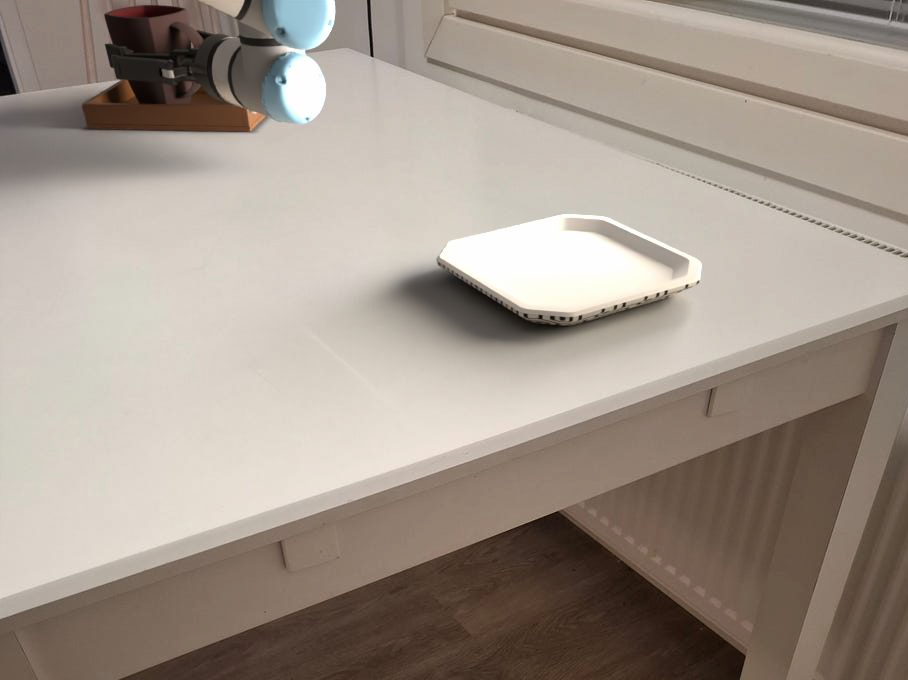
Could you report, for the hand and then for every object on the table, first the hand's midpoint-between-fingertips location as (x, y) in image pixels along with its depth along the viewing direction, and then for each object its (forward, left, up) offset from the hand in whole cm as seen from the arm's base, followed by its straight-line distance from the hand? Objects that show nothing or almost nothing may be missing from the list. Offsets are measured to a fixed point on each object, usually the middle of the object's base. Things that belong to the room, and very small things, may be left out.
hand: (154, 48), depth 128 cm
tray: (+3, +2, -8) cm, 9 cm away
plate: (+60, -58, -9) cm, 84 cm away
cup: (+1, 0, -8) cm, 8 cm away
